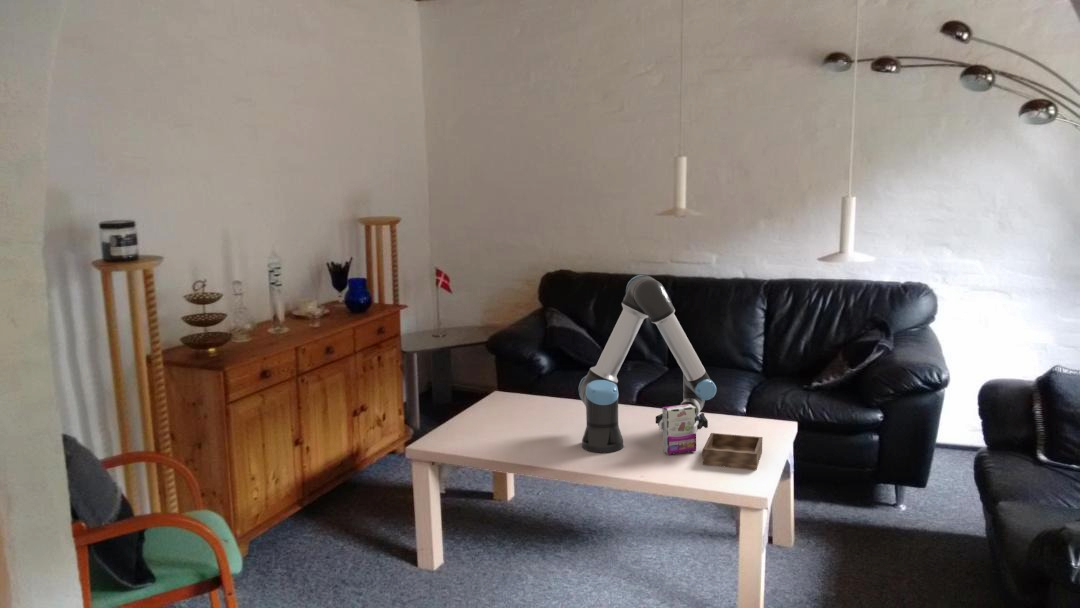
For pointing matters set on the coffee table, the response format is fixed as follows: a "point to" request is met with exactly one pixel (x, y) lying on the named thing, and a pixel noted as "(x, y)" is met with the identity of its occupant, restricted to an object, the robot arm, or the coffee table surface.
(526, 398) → the coffee table surface
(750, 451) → the walnut holder
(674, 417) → the candy bar box
